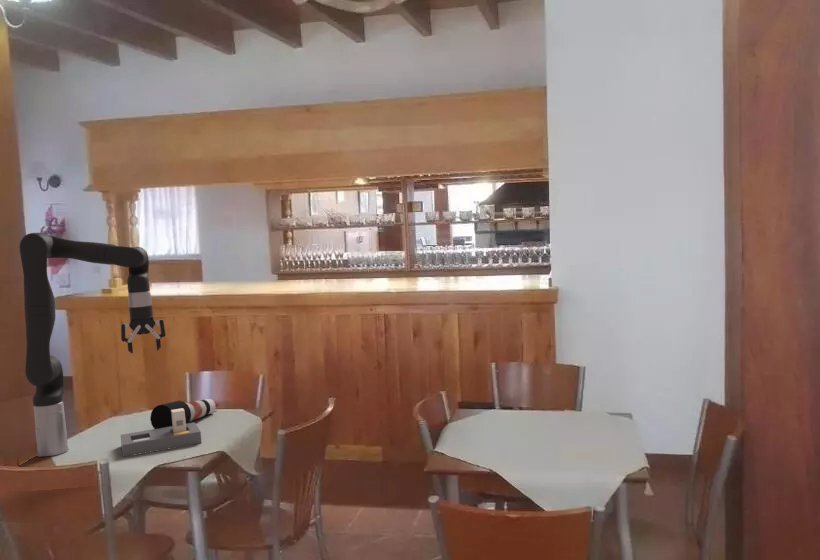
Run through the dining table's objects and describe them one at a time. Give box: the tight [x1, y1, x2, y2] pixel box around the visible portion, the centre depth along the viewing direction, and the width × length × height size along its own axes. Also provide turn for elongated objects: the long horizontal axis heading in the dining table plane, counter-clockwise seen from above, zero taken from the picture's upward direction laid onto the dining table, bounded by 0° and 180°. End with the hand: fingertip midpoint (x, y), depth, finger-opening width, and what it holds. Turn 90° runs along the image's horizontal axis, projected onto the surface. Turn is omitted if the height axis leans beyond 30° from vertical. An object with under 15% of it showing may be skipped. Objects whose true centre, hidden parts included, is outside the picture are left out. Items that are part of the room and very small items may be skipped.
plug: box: [171, 408, 186, 433], centre depth 255 cm, size 4×5×11 cm
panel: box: [120, 421, 203, 457], centre depth 253 cm, size 25×14×4 cm, turn 114°
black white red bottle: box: [149, 398, 220, 429], centre depth 280 cm, size 10×34×10 cm, turn 158°
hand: (145, 351), depth 254 cm, fingers open, 8 cm apart
